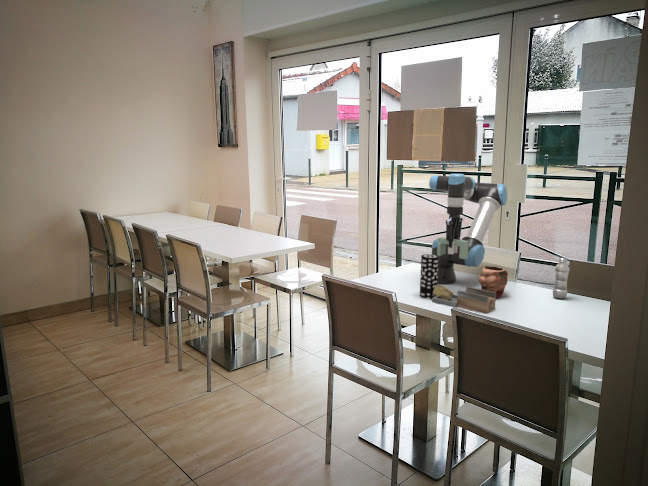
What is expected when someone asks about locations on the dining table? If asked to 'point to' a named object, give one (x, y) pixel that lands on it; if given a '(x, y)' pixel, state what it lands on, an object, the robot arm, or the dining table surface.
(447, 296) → the brass block
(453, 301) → the tray
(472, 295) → the slot ledge
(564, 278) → the plastic bottle
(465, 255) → the mint green arch block
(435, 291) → the yellow rock
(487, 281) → the decorative planter
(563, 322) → the dining table surface
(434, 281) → the spotted tube
